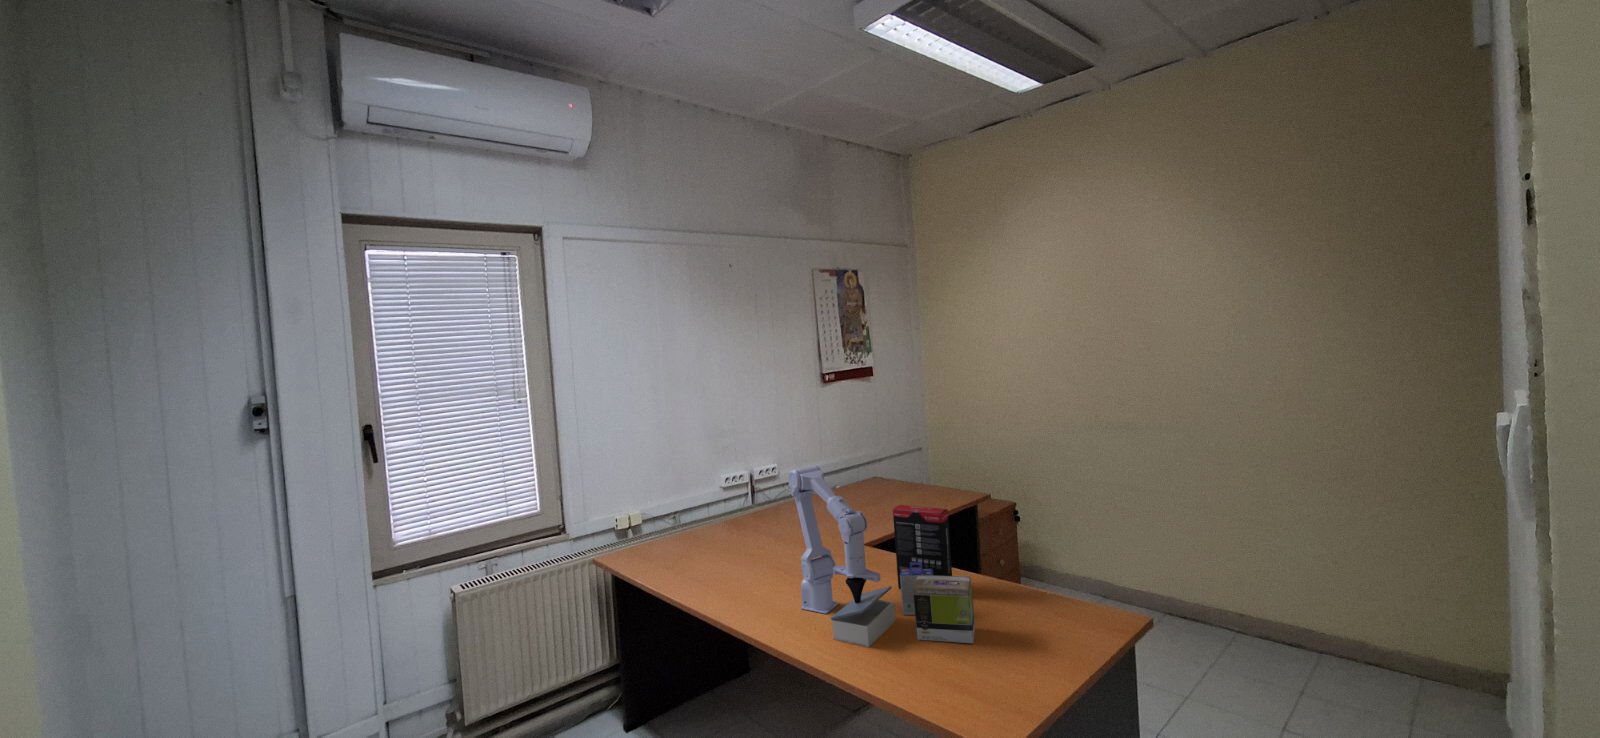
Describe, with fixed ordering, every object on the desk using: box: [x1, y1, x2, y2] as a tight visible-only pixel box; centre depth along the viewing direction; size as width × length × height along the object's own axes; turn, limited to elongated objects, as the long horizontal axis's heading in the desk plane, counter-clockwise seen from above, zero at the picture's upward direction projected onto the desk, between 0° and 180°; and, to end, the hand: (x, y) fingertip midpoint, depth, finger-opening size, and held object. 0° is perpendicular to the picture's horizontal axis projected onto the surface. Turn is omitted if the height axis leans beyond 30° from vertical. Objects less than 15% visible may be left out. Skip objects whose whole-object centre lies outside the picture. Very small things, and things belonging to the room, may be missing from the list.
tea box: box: [913, 575, 976, 644], centre depth 165 cm, size 15×10×15 cm, turn 71°
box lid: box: [830, 585, 893, 621], centre depth 172 cm, size 11×17×1 cm, turn 146°
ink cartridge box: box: [900, 562, 933, 616], centre depth 180 cm, size 10×6×14 cm, turn 78°
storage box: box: [831, 599, 896, 648], centre depth 171 cm, size 11×17×6 cm, turn 146°
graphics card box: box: [892, 504, 953, 590], centre depth 195 cm, size 17×7×27 cm, turn 58°
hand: (858, 602), depth 172 cm, fingers closed, pressing on box lid
